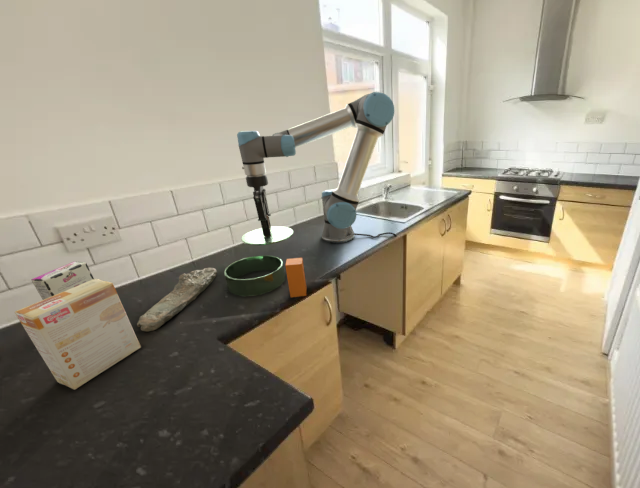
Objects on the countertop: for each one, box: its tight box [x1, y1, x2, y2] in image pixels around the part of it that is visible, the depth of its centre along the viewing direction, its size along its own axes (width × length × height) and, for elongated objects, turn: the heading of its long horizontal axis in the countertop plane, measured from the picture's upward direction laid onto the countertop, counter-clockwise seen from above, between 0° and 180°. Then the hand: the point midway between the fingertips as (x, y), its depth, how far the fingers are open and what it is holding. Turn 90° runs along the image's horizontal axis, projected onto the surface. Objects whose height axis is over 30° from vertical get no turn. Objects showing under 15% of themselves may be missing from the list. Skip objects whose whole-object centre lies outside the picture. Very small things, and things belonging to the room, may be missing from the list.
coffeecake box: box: [14, 278, 142, 391], centre depth 73 cm, size 15×7×20 cm, turn 159°
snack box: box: [284, 257, 308, 298], centre depth 103 cm, size 5×5×12 cm
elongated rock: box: [136, 267, 218, 332], centre depth 103 cm, size 35×5×10 cm
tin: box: [223, 254, 286, 297], centre depth 112 cm, size 19×19×6 cm
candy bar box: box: [30, 261, 95, 300], centre depth 92 cm, size 11×5×16 cm, turn 170°
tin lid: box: [241, 215, 294, 246], centre depth 127 cm, size 20×20×9 cm
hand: (267, 233), depth 129 cm, fingers closed on tin lid, 3 cm apart
